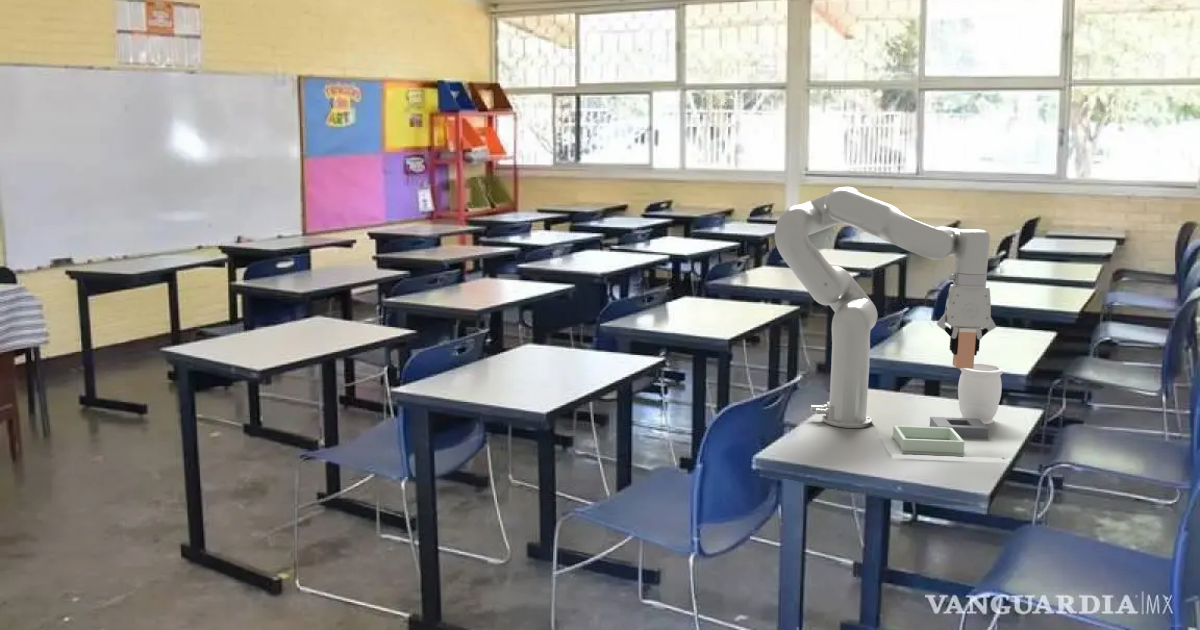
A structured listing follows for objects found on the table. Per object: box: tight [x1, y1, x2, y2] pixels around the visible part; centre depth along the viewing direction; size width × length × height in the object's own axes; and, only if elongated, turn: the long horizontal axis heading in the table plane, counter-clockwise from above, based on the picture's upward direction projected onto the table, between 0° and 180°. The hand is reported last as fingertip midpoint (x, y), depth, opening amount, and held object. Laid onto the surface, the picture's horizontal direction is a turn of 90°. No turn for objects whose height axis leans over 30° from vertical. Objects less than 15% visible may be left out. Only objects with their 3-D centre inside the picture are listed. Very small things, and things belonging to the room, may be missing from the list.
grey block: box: [929, 416, 990, 439], centre depth 258 cm, size 12×9×4 cm
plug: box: [952, 327, 977, 369], centre depth 254 cm, size 4×4×10 cm
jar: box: [957, 363, 1004, 425], centre depth 269 cm, size 11×10×15 cm
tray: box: [892, 425, 965, 458], centre depth 247 cm, size 14×12×4 cm
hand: (963, 353), depth 255 cm, fingers closed on plug, 4 cm apart
